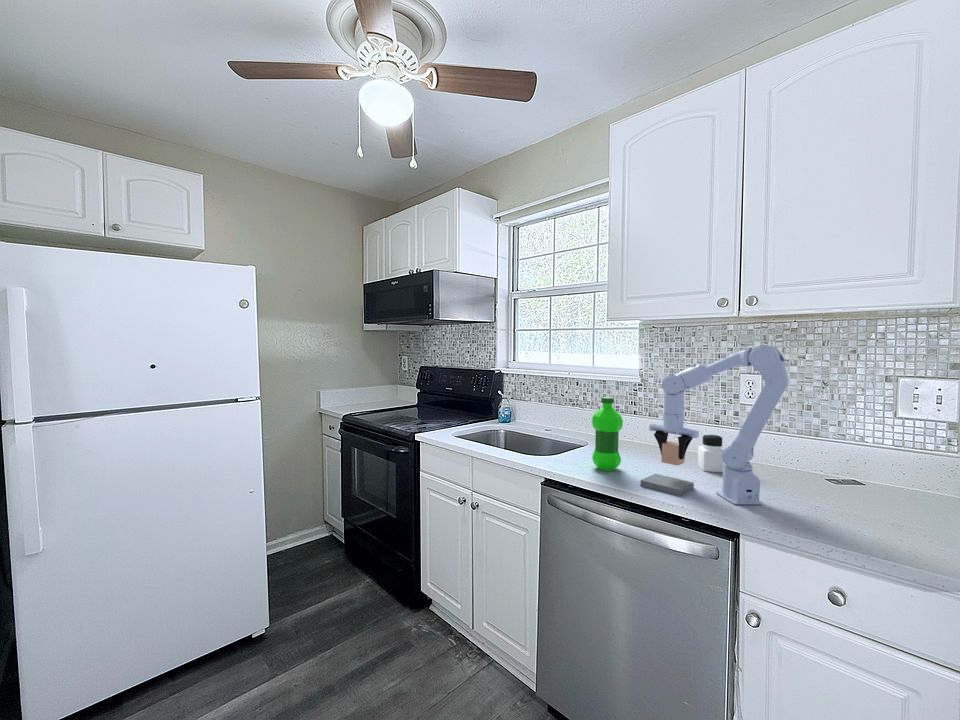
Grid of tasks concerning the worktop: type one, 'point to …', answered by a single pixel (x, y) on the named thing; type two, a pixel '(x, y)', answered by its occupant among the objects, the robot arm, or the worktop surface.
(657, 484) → the charcoal base
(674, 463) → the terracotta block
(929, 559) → the worktop surface
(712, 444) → the medicine bottle
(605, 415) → the plastic bottle
